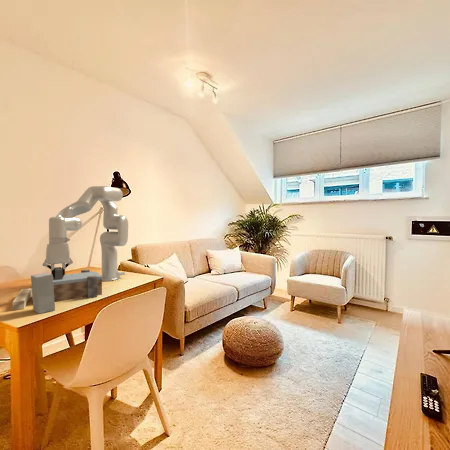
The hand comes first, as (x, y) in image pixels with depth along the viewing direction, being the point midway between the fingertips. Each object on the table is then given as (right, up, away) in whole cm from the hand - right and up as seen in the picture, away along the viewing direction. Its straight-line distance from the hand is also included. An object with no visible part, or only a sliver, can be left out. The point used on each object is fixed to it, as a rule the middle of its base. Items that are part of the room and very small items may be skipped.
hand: (58, 276), depth 133 cm
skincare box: (+6, -11, -19) cm, 23 cm away
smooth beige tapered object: (-11, -11, -8) cm, 18 cm away
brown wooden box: (+5, -10, +4) cm, 12 cm away
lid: (+5, -2, +4) cm, 6 cm away
